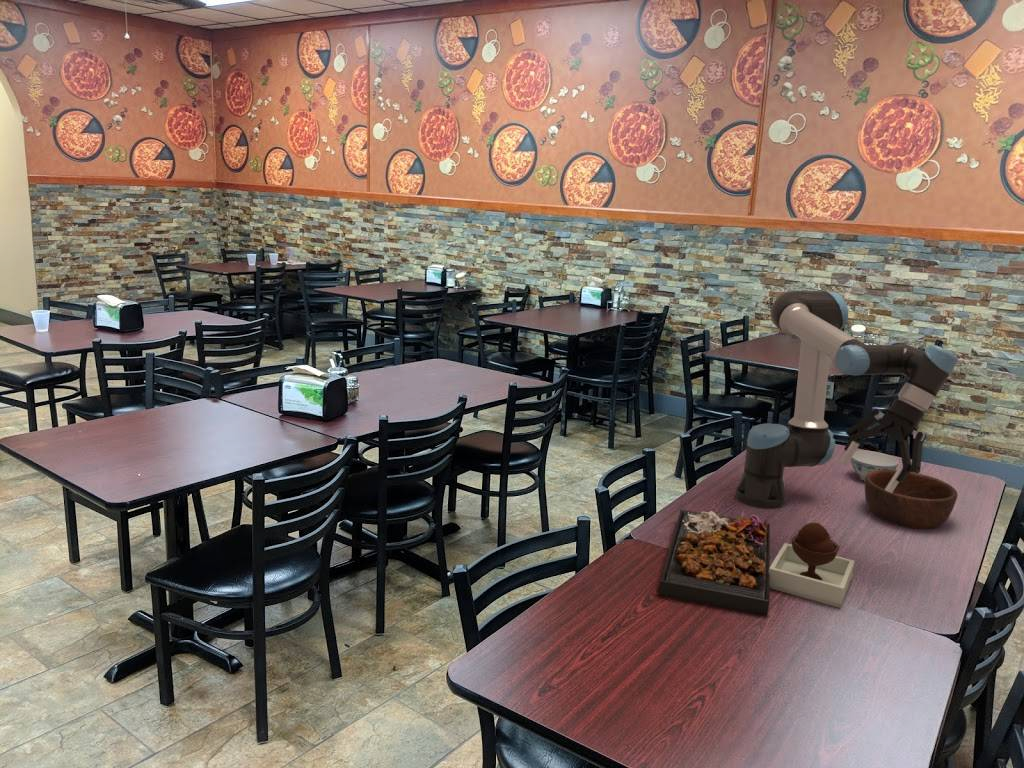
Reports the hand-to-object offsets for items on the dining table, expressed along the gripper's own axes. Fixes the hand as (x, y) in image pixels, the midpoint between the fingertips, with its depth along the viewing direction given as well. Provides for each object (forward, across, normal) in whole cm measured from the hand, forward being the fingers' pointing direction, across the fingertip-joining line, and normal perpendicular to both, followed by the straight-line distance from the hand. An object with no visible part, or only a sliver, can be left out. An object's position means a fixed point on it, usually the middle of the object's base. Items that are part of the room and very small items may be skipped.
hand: (864, 477), depth 202 cm
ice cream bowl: (+28, -6, +8) cm, 29 cm away
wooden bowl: (+7, +8, -51) cm, 52 cm away
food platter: (+38, +12, +18) cm, 43 cm away
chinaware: (+4, +31, -70) cm, 76 cm away
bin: (+29, -6, +8) cm, 30 cm away
